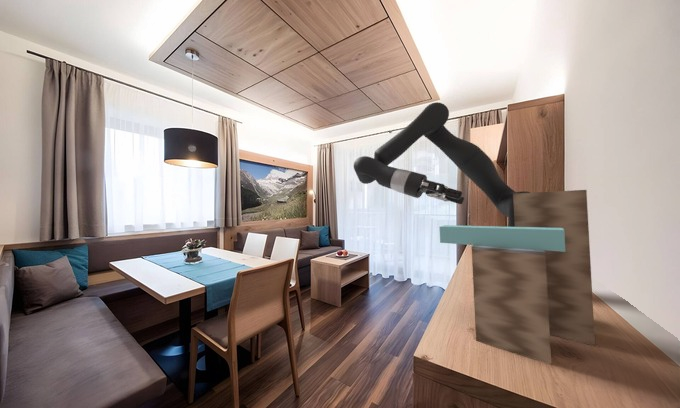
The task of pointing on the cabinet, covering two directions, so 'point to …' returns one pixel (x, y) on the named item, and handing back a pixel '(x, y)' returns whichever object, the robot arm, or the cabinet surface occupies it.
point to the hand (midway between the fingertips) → (462, 198)
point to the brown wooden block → (512, 300)
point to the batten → (505, 237)
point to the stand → (564, 259)
